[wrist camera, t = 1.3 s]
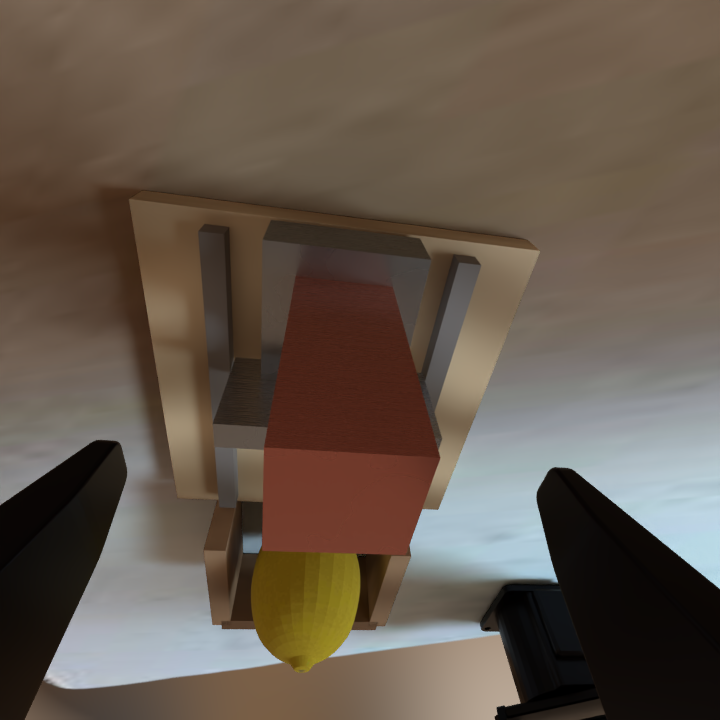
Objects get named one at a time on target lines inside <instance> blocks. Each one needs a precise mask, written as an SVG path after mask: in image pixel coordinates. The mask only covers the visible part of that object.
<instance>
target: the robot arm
mask: <svg viewBox="0 0 720 720" xmlns="http://www.w3.org/2000/svg"><path fill="white" fill-rule="evenodd" d="M126 478H127V467H126V463H125V459H124V455H123V451H122V447H121V445H120V443H119V442H117V441H108V440H96V441H94V442H92V443H90V444H89V445H87V446H86V447H84V448H83V449H81V450H80V451H78V452H77V453H76V454H74V455H73V456H71V457H70V458H68V459H67V460H65V461H64V462H62V463H61V464H60V465H58V466H57V467H55V468H54V469H52V470H51V471H49V472H48V473H46V474H45V475H44V476H42V477H41V478H39V479H38V480H36V481H35V482H33V483H32V484H30V485H29V486H28V487H26V488H25V489H23V490H22V491H20V492H19V493H17V494H16V495H14V496H13V497H12V498H10V499H9V500H7V501H6V502H4V503H3V504H1V505H0V720H25V718H26V715H27V713H28V711H29V709H30V707H31V705H32V702H33V700H34V698H35V696H36V694H37V692H38V689H39V687H40V685H41V683H42V681H43V679H44V677H45V675H46V672H47V670H48V668H49V666H50V664H51V662H52V659H53V657H54V655H55V653H56V651H57V649H58V647H59V644H60V642H61V640H62V638H63V636H64V634H65V632H66V629H67V627H68V625H69V623H70V621H71V619H72V616H73V614H74V612H75V610H76V608H77V606H78V604H79V601H80V599H81V597H82V595H83V593H84V591H85V588H86V586H87V584H88V582H89V580H90V578H91V576H92V573H93V571H94V569H95V567H96V565H97V562H98V560H99V558H100V555H101V552H102V550H103V547H104V544H105V541H106V538H107V535H108V532H109V529H110V526H111V524H112V521H113V518H114V515H115V512H116V509H117V506H118V503H119V500H120V497H121V494H122V491H123V488H124V485H125V482H126ZM537 504H538V508H539V512H540V516H541V521H542V525H543V529H544V533H545V537H546V541H547V545H548V549H549V553H550V557H551V561H552V564H553V568H554V571H555V574H556V577H557V580H558V583H559V586H539V585H507V586H505V587H503V589H502V590H501V592H500V593H499V595H498V596H497V598H496V599H495V601H494V603H493V604H492V606H491V607H490V609H489V610H488V612H487V613H486V615H485V617H484V618H483V620H482V621H481V623H480V626H481V630H482V631H499V632H500V635H501V638H502V642H503V645H504V649H505V652H506V655H507V659H508V662H509V665H510V669H511V672H512V675H513V679H514V682H515V685H516V689H517V692H518V695H519V699H520V702H521V704H516V705H512V706H507V707H505V706H500V707H497V713H498V715H496V716H495V720H720V589H719V588H718V587H717V586H715V585H714V584H713V583H712V582H710V581H709V580H708V579H707V578H706V577H704V576H703V575H702V574H701V573H699V572H698V571H697V570H696V569H694V568H693V567H692V566H691V565H690V564H688V563H687V562H686V561H685V560H683V559H682V558H681V557H680V556H678V555H677V554H676V553H675V552H674V551H672V550H671V549H670V548H669V547H667V546H666V545H665V544H664V543H662V542H661V541H660V540H659V539H658V538H656V537H655V536H654V535H653V534H651V533H650V532H649V531H648V530H646V529H645V528H644V527H643V526H642V525H640V524H639V523H638V522H637V521H635V520H634V519H633V518H632V517H630V516H629V515H628V514H627V513H626V512H624V511H623V510H622V509H621V508H619V507H618V506H617V505H616V504H615V503H613V502H612V501H611V500H610V499H608V498H607V497H606V496H605V495H603V494H602V493H601V492H600V491H599V490H597V489H596V488H595V487H594V486H592V485H591V484H590V483H589V482H587V481H586V480H585V479H584V478H583V477H581V476H580V475H579V474H578V473H576V472H575V471H574V470H572V469H569V468H558V467H554V468H552V469H550V470H549V471H548V473H547V475H546V477H545V478H544V480H543V482H542V484H541V485H540V487H539V489H538V491H537Z"/></svg>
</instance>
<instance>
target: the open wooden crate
mask: <svg viewBox="0 0 720 720" xmlns="http://www.w3.org/2000/svg"><path fill="white" fill-rule="evenodd" d="M257 556H258V554H243V537H242V502H241V501H237V504H236V508H222V507H219V500H217V503H216V506H215V510H214V514H213V517H212V521H211V525H210V528H209V532H208V536H207V539H206V543H205V547H204V558H205V567H206V575H207V583H208V591H209V599H210V608H211V616H212V624H213V625H222V629H256V628H255V625H254V621H253V616H252V607H251V584H252V577H253V572H254V567H255V563H256V559H257ZM410 558H411V553H410V547H408V550H407V553H406V555H386V554H366V557H357V559H358V563H359V569H360V595H359V602H358V607H357V612H356V616H355V620H354V623H353V626H352V629H351V630H376V627H377V626H385V625H386V622H387V619H388V617H389V614H390V611H391V609H392V606H393V603H394V601H395V598H396V595H397V593H398V590H399V587H400V585H401V582H402V579H403V577H404V574H405V571H406V569H407V566H408V563H409V561H410Z"/></svg>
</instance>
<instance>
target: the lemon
mask: <svg viewBox="0 0 720 720" xmlns="http://www.w3.org/2000/svg"><path fill="white" fill-rule="evenodd" d="M359 595H360V569H359V563H358V559H357V555H356V554H352V553H318V552H284V551H262V546H261V549H260V551H259V553H258V556H257V559H256V563H255V567H254V572H253V577H252V584H251V607H252V616H253V621H254V625H255V628H256V632H257V634H258V636H259V639H260V640H261V642H262V643H263V645H264V646H265V647H266V648H267V649H268V651H269V652H270V653H271V654H272V655H273V656H275V657H276V658H277V659H279V660H281V661H283V662H285V663H287V664H290V665H291V666H292V667H293V669H294V670H295V671H296V672H300V673H302V672H307V671H309V670H310V669H311V667H312V666H313V664H316V663H318V662H320V661H322V660H325V659H326V658H328V657H329V656H330V655H332V654H333V653H334V652H335V651H336V650H337V649H338V648H339V647H340V646H341V645H342V643H343V642H344V641H345V639H346V638H347V637H348V635H349V633H350V631H351V629H352V626H353V623H354V620H355V616H356V612H357V607H358V602H359Z"/></svg>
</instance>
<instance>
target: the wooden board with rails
mask: <svg viewBox="0 0 720 720" xmlns="http://www.w3.org/2000/svg"><path fill="white" fill-rule="evenodd" d="M129 204H130V210H131V216H132V222H133V228H134V235H135V241H136V247H137V253H138V259H139V265H140V271H141V278H142V284H143V290H144V296H145V302H146V308H147V314H148V320H149V327H150V333H151V339H152V345H153V351H154V357H155V363H156V370H157V376H158V382H159V388H160V394H161V400H162V406H163V412H164V419H165V425H166V431H167V437H168V443H169V449H170V455H171V462H172V468H173V474H174V480H175V486H176V492H177V498H183V499H206V500H219V507H222V508H236V504H237V501H252V502H263V465H264V450H256V449H239V448H222V447H214V436H213V421H214V418H215V415H216V412H217V409H218V406H219V404H220V401H221V398H222V395H223V392H224V389H225V386H226V383H227V380H228V378H229V375H230V372H231V369H232V366H233V363H234V360H235V357H241V358H253V359H261V327H262V240H263V237H264V235H265V233H266V230H267V228H268V226H269V223H270V221H271V220H278V221H285V222H293V223H301V224H309V225H317V226H325V227H333V228H341V229H349V230H357V231H365V232H373V233H381V234H389V235H397V236H405V237H413V238H420V239H421V241H422V243H423V245H424V247H425V249H426V251H427V252H428V254H429V256H430V258H431V264H430V268H429V272H428V276H427V280H426V284H425V288H424V292H423V296H422V301H421V305H420V309H419V313H418V317H417V321H416V325H415V329H414V333H413V337H412V341H411V345H410V350H411V354H412V357H413V361H414V365H415V368H416V372H418V373H423V376H424V379H425V382H426V386H427V389H428V392H429V396H430V399H431V402H432V406H433V409H434V412H435V416H436V419H437V422H438V426H439V429H440V432H441V436H442V441H441V444H440V447H439V450H438V451H439V454H440V461H439V464H438V466H437V469H436V472H435V475H434V477H433V480H432V483H431V486H430V489H429V491H428V494H427V497H426V500H425V503H424V505H423V508H422V509H436V510H438V509H439V506H440V504H441V501H442V499H443V496H444V494H445V491H446V488H447V486H448V483H449V481H450V478H451V476H452V473H453V471H454V468H455V466H456V463H457V461H458V458H459V455H460V453H461V450H462V448H463V445H464V443H465V440H466V438H467V435H468V433H469V430H470V428H471V425H472V423H473V420H474V417H475V415H476V412H477V410H478V407H479V405H480V402H481V400H482V397H483V395H484V392H485V390H486V387H487V385H488V382H489V379H490V377H491V374H492V372H493V369H494V367H495V364H496V362H497V359H498V357H499V354H500V352H501V349H502V346H503V344H504V341H505V339H506V336H507V334H508V331H509V329H510V326H511V324H512V321H513V319H514V316H515V314H516V311H517V308H518V306H519V303H520V301H521V298H522V296H523V293H524V291H525V288H526V286H527V283H528V281H529V278H530V276H531V273H532V270H533V268H534V265H535V263H536V260H537V258H538V255H539V253H540V250H538V249H537V248H536V247H535V246H534V245H533V244H531V243H530V242H529V241H528V240H524V239H516V238H508V237H500V236H493V235H485V234H477V233H469V232H462V231H454V230H446V229H438V228H431V227H423V226H415V225H408V224H400V223H392V222H384V221H377V220H369V219H361V218H353V217H346V216H338V215H330V214H323V213H315V212H307V211H299V210H292V209H284V208H276V207H268V206H261V205H253V204H245V203H237V202H230V201H222V200H214V199H207V198H199V197H191V196H183V195H176V194H168V193H160V192H152V191H145V190H143V191H141V192H139V193H138V194H136V195H134V196H133V197H131V198H129Z"/></svg>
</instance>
